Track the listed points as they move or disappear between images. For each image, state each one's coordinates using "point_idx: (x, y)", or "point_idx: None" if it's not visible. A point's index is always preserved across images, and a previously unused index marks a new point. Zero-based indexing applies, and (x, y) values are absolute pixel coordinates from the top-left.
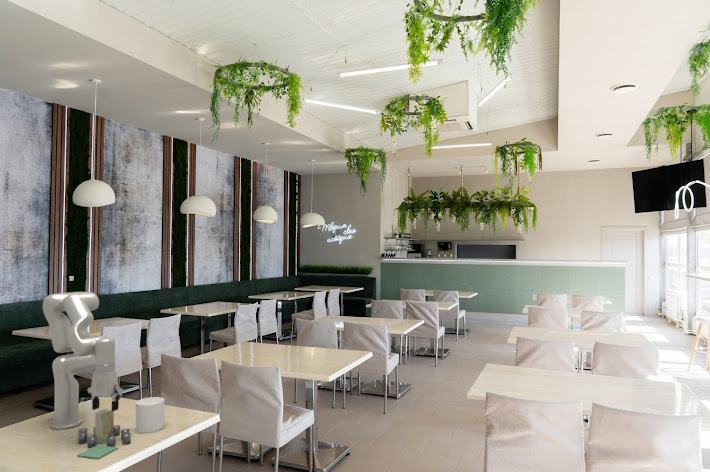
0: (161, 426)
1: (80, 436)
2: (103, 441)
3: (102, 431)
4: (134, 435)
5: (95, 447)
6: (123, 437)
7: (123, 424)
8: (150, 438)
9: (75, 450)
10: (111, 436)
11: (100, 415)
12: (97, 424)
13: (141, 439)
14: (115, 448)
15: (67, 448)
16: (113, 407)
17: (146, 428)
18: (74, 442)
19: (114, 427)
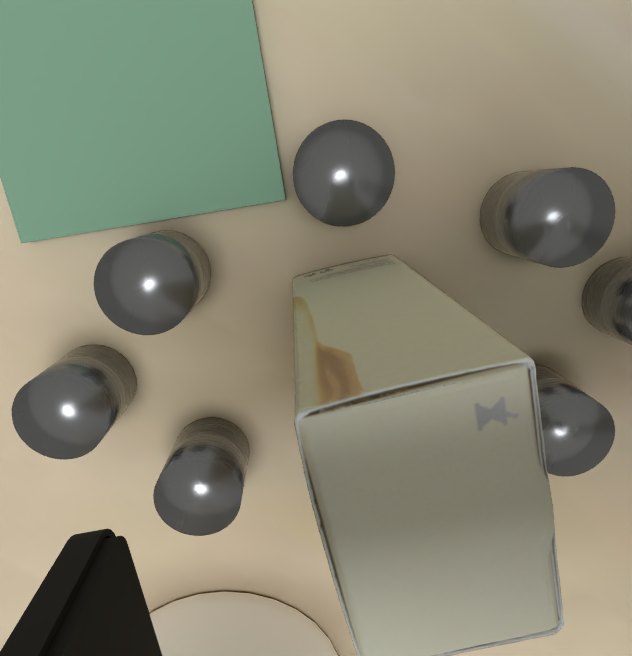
0: None
1: (549, 171)
2: (293, 283)
3: (308, 302)
4: None
5: (240, 143)
6: (57, 368)
7: (521, 652)
8: (3, 542)
9: (410, 22)
10: (159, 303)
11: (380, 371)
12: (403, 304)
13: (55, 495)
14: (18, 215)
15: (542, 25)
16: (42, 623)
17: None
18: (607, 178)
19: None
